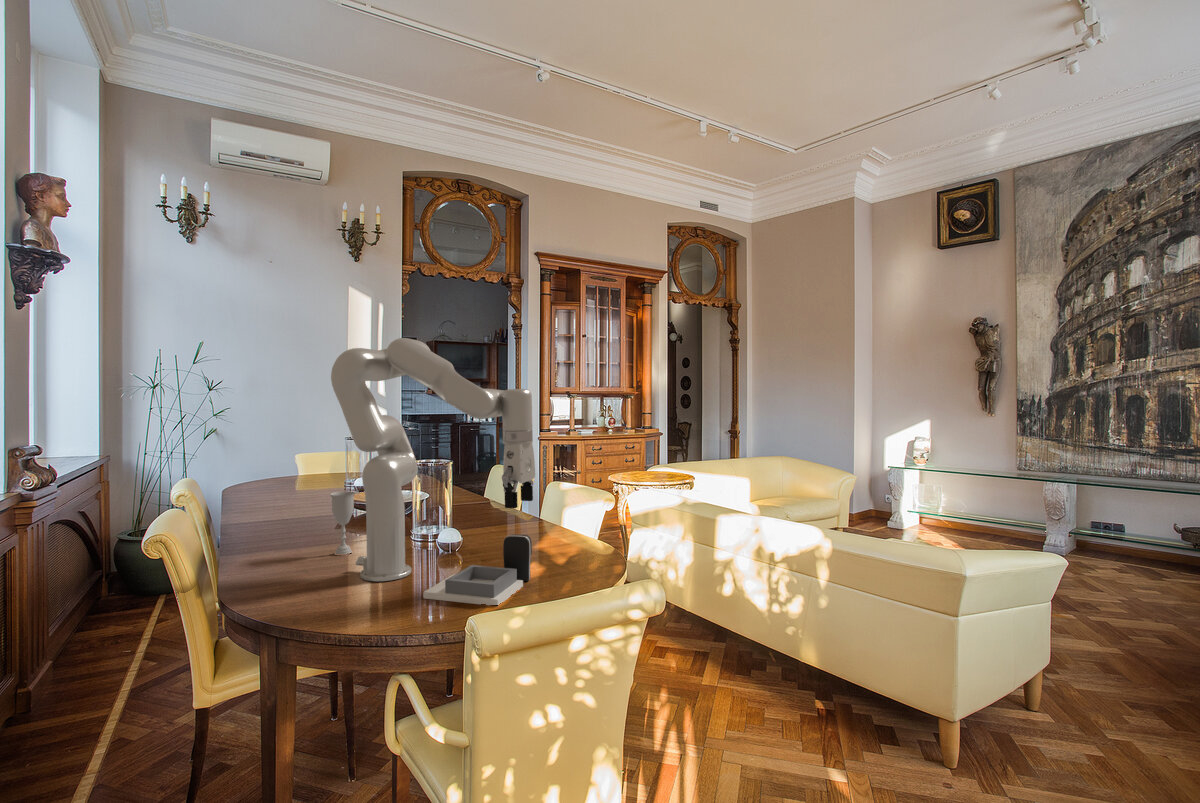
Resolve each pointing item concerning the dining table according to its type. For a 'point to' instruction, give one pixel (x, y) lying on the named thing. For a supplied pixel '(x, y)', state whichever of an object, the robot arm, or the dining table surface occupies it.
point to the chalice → (343, 515)
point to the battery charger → (518, 555)
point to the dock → (477, 586)
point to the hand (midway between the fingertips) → (519, 504)
